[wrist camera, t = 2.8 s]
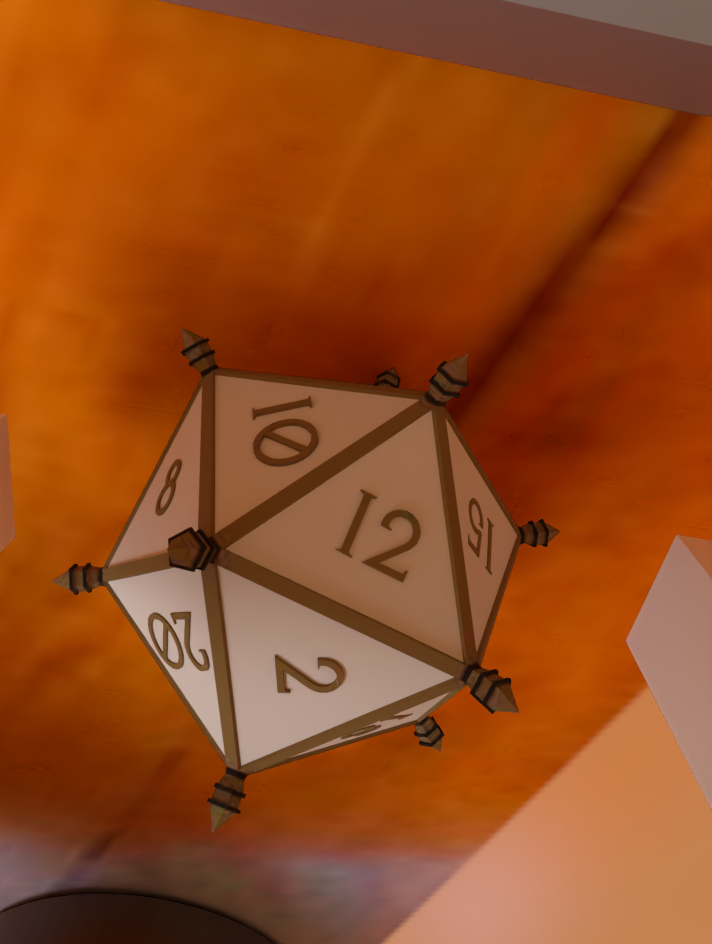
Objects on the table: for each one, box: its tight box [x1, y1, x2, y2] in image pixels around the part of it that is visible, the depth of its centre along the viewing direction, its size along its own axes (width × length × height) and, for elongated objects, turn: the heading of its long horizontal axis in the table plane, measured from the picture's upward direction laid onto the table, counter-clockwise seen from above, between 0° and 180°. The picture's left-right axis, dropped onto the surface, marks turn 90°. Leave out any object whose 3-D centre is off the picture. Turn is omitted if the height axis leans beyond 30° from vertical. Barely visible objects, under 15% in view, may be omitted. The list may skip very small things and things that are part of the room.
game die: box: [52, 328, 560, 833], centre depth 12 cm, size 9×8×10 cm
